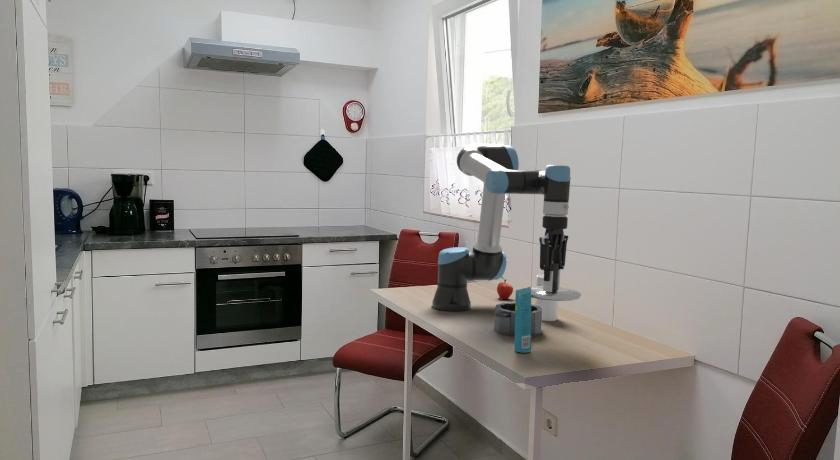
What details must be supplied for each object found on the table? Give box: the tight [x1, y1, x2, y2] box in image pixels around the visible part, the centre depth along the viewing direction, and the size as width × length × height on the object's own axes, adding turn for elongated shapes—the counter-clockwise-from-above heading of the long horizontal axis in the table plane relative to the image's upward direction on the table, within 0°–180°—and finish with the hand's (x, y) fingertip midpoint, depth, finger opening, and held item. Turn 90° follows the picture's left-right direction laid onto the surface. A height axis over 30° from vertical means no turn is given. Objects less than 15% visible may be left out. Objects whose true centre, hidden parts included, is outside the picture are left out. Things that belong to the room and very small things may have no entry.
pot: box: [493, 302, 543, 338], centre depth 211 cm, size 21×16×8 cm
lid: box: [524, 262, 582, 302], centre depth 192 cm, size 18×18×10 cm
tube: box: [514, 286, 532, 354], centre depth 186 cm, size 7×5×19 cm, turn 140°
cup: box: [534, 273, 559, 322], centre depth 229 cm, size 8×8×16 cm
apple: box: [496, 276, 514, 300], centre depth 263 cm, size 8×7×10 cm
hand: (551, 290), depth 192 cm, fingers closed on lid, 4 cm apart
